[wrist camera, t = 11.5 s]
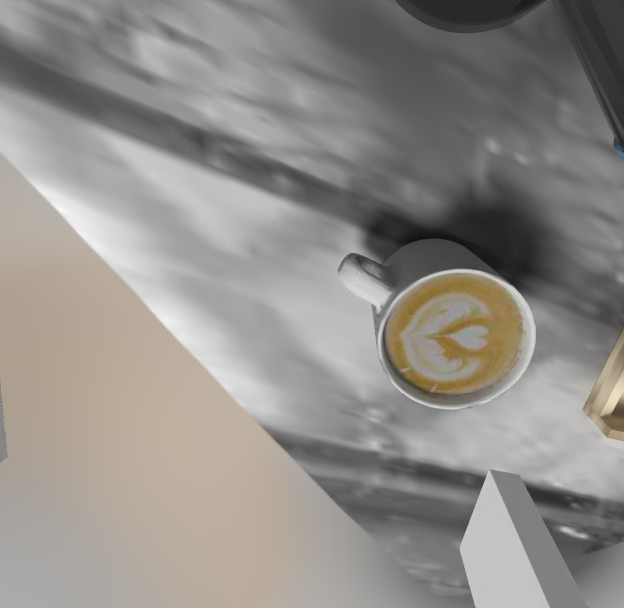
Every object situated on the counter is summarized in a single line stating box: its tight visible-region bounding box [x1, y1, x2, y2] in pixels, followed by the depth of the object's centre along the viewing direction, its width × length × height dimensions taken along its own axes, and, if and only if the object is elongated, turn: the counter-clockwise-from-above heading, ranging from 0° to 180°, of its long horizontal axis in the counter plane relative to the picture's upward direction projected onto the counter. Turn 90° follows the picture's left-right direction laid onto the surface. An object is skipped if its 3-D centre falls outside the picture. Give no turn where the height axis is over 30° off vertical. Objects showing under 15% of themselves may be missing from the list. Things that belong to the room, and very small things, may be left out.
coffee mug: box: [338, 239, 536, 409], centre depth 32 cm, size 13×10×10 cm
